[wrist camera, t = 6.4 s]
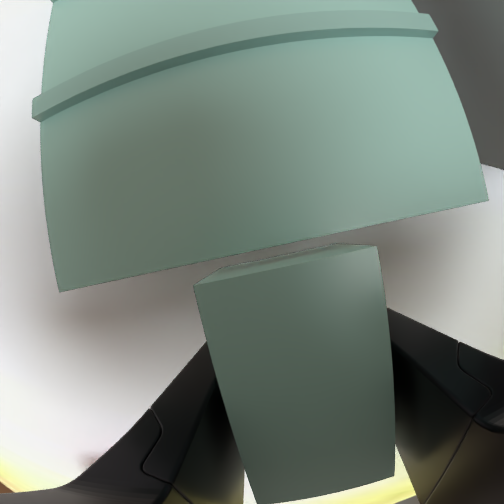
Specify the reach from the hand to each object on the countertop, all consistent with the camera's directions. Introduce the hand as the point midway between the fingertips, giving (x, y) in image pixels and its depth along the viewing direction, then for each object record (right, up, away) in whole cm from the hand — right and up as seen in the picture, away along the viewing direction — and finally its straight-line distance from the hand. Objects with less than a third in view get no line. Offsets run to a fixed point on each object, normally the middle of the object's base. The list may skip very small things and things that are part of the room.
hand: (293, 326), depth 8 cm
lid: (-1, +7, 0) cm, 7 cm away
